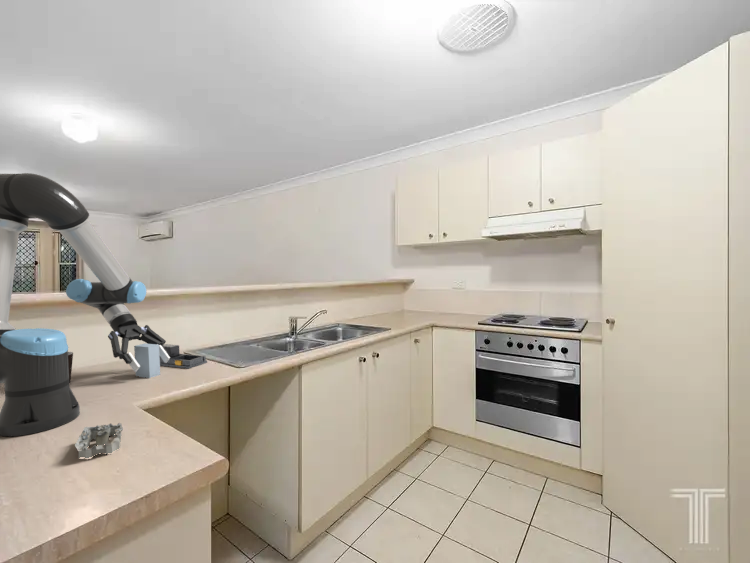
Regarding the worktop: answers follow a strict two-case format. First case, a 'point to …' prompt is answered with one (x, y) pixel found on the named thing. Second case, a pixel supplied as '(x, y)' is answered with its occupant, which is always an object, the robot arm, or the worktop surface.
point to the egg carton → (99, 440)
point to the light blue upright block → (147, 360)
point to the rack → (181, 358)
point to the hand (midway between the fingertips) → (153, 364)
